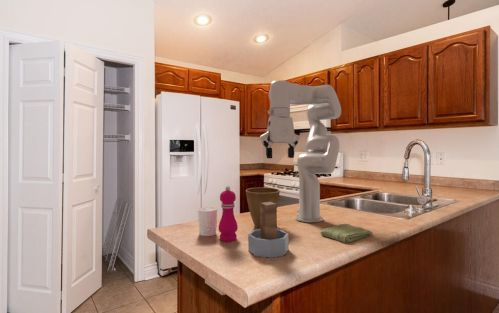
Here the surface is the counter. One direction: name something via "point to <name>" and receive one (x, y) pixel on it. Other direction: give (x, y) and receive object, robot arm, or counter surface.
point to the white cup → (207, 221)
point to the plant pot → (260, 201)
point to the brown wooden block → (268, 220)
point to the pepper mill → (227, 216)
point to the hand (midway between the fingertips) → (280, 158)
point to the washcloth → (345, 232)
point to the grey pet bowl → (268, 244)
